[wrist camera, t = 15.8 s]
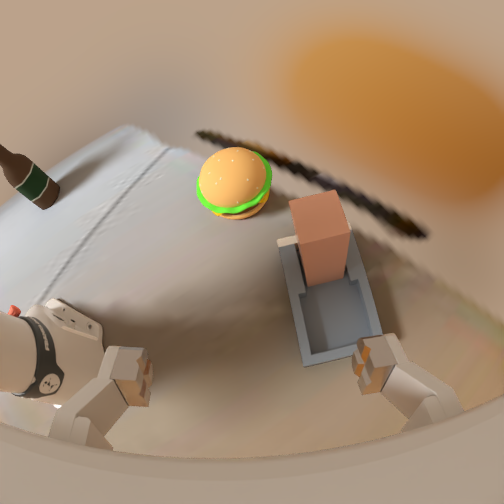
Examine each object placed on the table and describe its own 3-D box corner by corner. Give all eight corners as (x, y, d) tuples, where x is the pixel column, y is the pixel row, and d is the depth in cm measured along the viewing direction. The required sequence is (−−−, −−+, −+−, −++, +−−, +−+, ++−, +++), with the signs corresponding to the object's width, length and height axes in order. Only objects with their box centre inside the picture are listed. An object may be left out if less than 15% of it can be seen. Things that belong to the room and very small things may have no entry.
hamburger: (202, 178, 54) (183, 148, 47) (267, 158, 53) (257, 124, 45) (211, 236, 49) (190, 209, 42) (284, 214, 48) (276, 182, 40)
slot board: (381, 347, 37) (385, 345, 34) (304, 367, 38) (303, 366, 36) (348, 231, 44) (349, 221, 42) (279, 248, 46) (276, 239, 43)
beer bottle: (38, 197, 66) (-22, 145, 44) (59, 178, 66) (-1, 121, 45) (41, 216, 63) (-27, 163, 41) (62, 196, 63) (-5, 137, 41)
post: (343, 278, 41) (350, 231, 29) (307, 287, 42) (299, 244, 29) (333, 245, 43) (335, 189, 31) (299, 253, 44) (288, 200, 31)
